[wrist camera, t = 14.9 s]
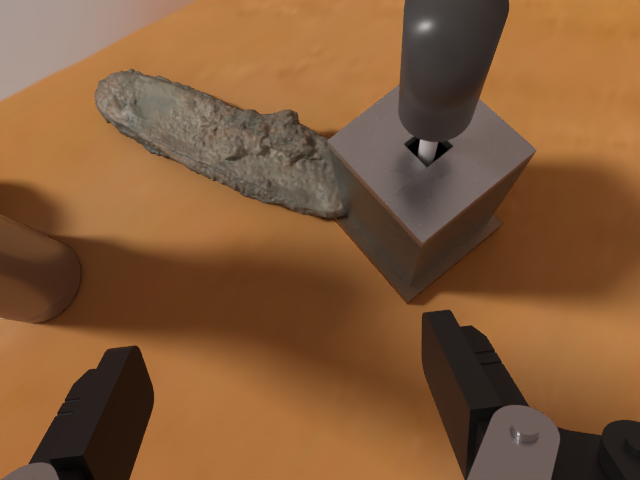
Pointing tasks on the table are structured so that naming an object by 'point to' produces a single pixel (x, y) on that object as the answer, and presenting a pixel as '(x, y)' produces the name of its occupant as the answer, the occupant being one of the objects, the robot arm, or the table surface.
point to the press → (422, 191)
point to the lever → (445, 66)
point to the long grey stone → (225, 141)
